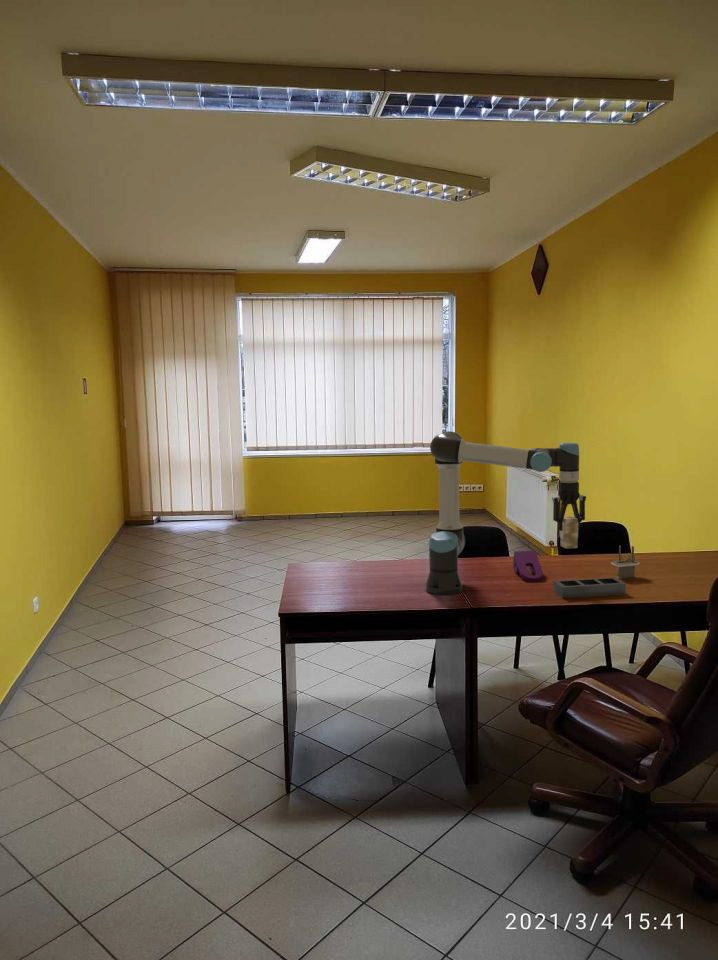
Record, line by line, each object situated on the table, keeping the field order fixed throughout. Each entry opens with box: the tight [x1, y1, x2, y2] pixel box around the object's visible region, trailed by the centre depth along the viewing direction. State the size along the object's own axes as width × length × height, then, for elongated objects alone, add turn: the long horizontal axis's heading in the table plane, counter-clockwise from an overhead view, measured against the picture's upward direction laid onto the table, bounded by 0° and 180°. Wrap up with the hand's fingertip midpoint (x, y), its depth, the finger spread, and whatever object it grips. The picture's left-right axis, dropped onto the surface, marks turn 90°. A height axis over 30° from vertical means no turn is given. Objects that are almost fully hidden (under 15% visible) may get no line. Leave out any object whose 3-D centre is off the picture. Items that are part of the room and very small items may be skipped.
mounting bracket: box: [512, 550, 543, 582], centre depth 292 cm, size 10×8×18 cm
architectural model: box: [610, 545, 641, 580], centre depth 285 cm, size 21×25×14 cm
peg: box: [559, 516, 579, 549], centre depth 269 cm, size 5×5×12 cm
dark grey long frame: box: [552, 576, 627, 599], centre depth 265 cm, size 26×9×4 cm, turn 96°
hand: (569, 537), depth 269 cm, fingers closed on peg, 5 cm apart
